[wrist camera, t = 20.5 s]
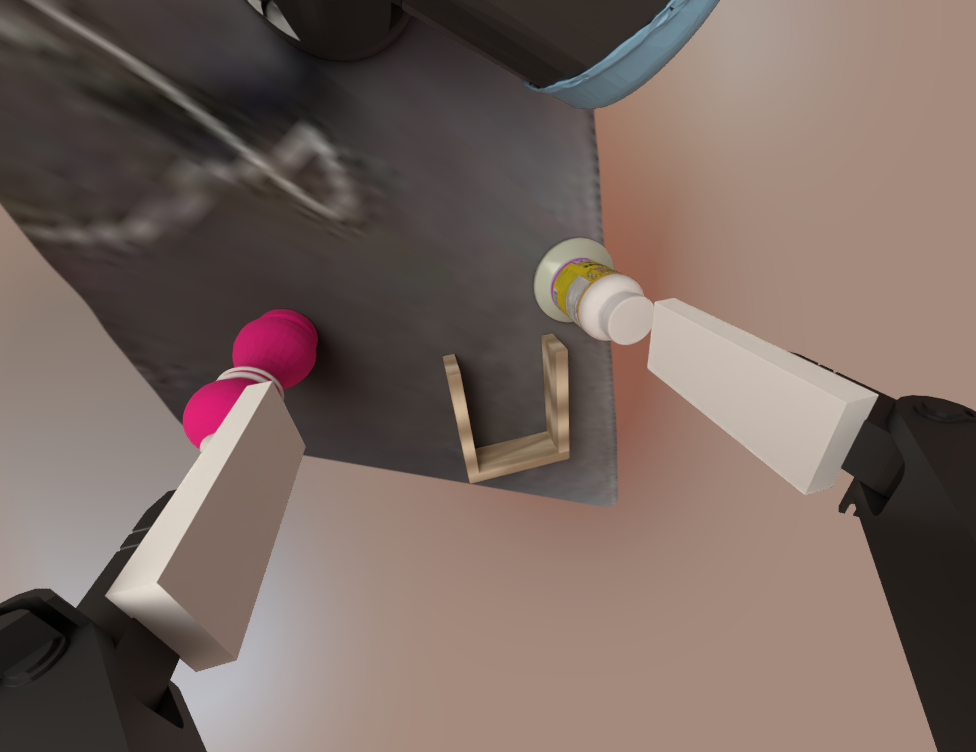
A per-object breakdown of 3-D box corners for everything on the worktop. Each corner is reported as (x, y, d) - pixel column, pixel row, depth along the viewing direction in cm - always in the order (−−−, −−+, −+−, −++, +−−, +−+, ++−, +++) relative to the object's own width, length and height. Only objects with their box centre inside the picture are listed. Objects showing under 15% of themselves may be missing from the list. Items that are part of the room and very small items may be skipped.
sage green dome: (530, 245, 42) (533, 246, 41) (612, 230, 43) (616, 231, 42) (535, 326, 47) (537, 329, 46) (608, 311, 48) (612, 313, 47)
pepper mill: (276, 290, 39) (182, 387, 22) (336, 333, 42) (295, 446, 25) (236, 337, 40) (118, 464, 23) (297, 375, 44) (234, 509, 27)
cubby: (442, 356, 46) (447, 375, 42) (552, 333, 48) (567, 349, 44) (464, 459, 55) (470, 483, 51) (556, 436, 57) (569, 458, 53)
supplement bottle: (610, 269, 44) (680, 302, 33) (581, 318, 47) (638, 364, 36) (565, 245, 42) (626, 273, 31) (537, 298, 44) (584, 341, 33)
